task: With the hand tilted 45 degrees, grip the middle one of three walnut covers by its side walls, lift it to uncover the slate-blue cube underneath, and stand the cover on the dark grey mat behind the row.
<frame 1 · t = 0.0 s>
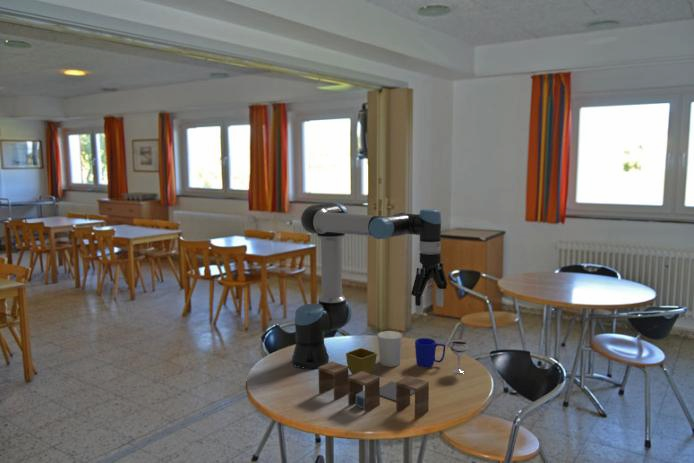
hand: (429, 309, 196), 28 cm above the table, tool pointing down, fingers open, 13 cm apart
cover left: (333, 393, 192), on the table
mug: (429, 366, 216), on the table
mat: (395, 392, 192), on the table
wineglass: (458, 371, 210), on the table
cover middle: (364, 405, 182), on the table
cube: (364, 405, 182), on the table
flower pot: (361, 375, 208), on the table
candle holder: (390, 363, 220), on the table
cover right: (412, 410, 178), on the table
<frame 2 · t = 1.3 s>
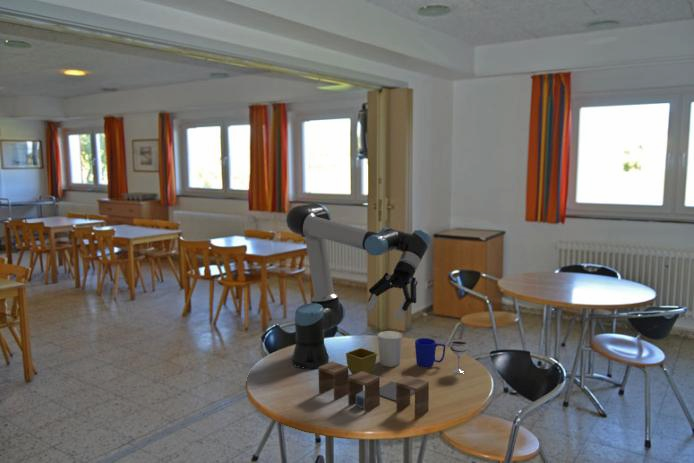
hand: (382, 314, 193), 28 cm above the table, tool tilted 45°, fingers open, 13 cm apart
nothing on the table moved.
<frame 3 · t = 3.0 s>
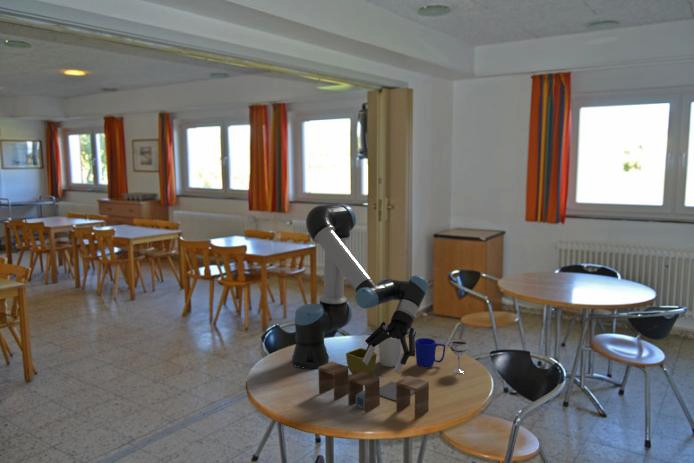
hand: (380, 367, 185), 11 cm above the table, tool tilted 45°, fingers open, 13 cm apart
nothing on the table moved.
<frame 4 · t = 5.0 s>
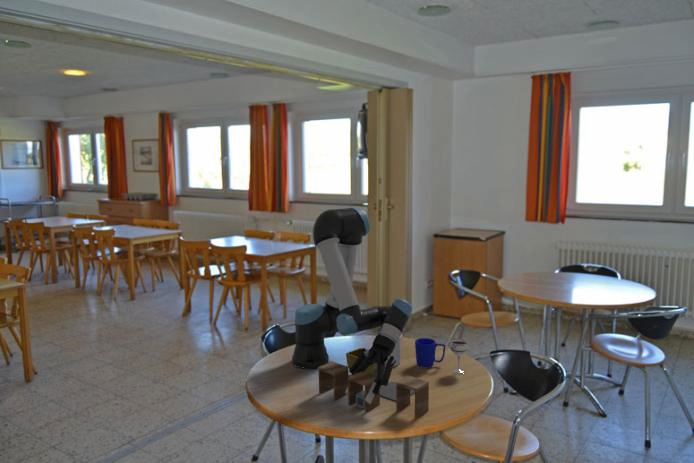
hand: (357, 398, 179), 4 cm above the table, tool tilted 45°, fingers closed on cover middle, 8 cm apart
cover middle: (364, 405, 182), on the table, touching gripper
everything else where it was.
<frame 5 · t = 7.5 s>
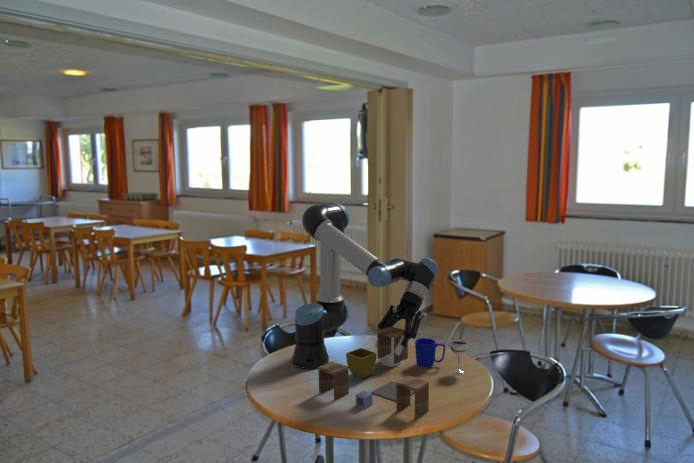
hand: (386, 350, 187), 17 cm above the table, tool tilted 45°, fingers closed on cover middle, 8 cm apart
cover middle: (392, 358, 190), point 13 cm above the table, touching gripper
everything else where it was.
when the fingers open (5 cm above the table, at t = 10.2 s): cover middle drops 1 cm, resting on mat.
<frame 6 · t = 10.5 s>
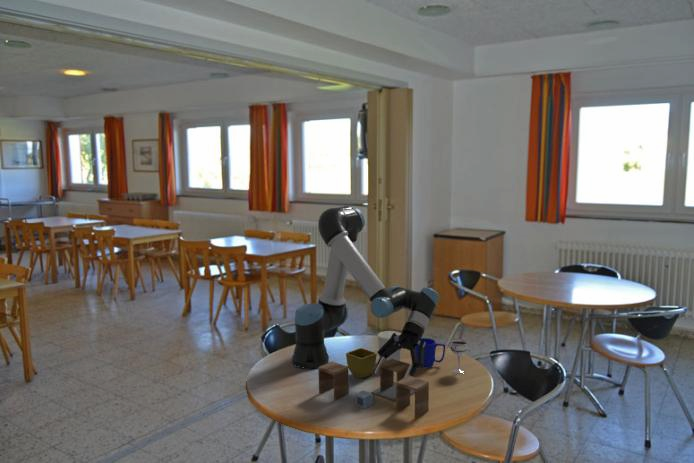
hand: (390, 378, 190), 6 cm above the table, tool tilted 45°, fingers open, 11 cm apart
cover middle: (395, 390, 192), resting on mat
everything else where it was.
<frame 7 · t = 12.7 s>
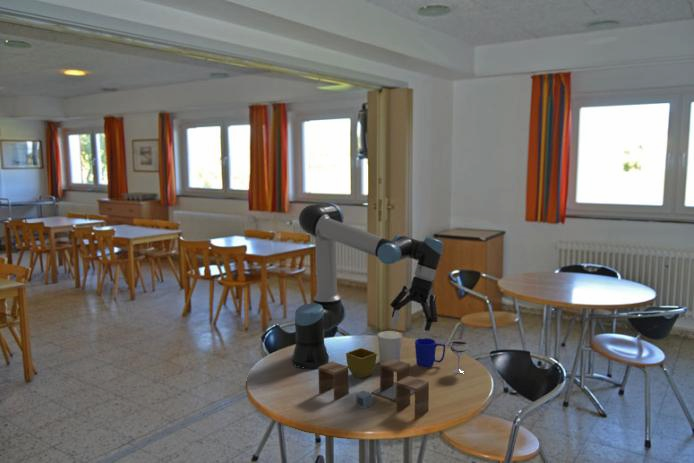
hand: (407, 332, 202), 18 cm above the table, tool tilted 20°, fingers open, 13 cm apart
nothing on the table moved.
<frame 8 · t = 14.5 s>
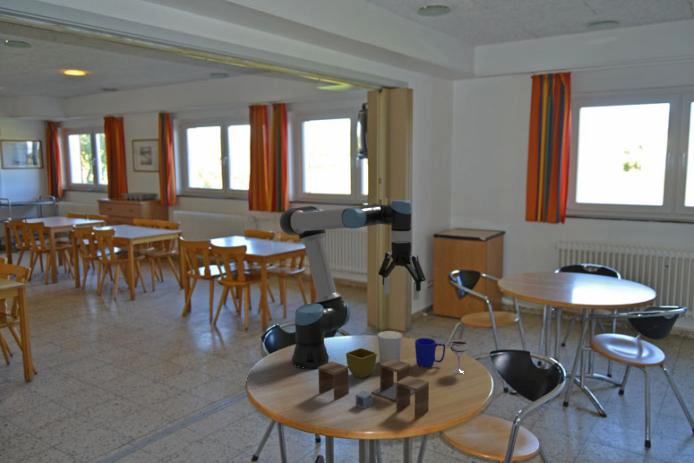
hand: (401, 296, 205), 31 cm above the table, tool pointing down, fingers open, 13 cm apart
nothing on the table moved.
at the end: cover middle inside the target area on the mat (0.0 cm from its centre), point 0.4 cm above the mat's base; cover middle tilted 0°; cube moved 0.1 cm from its start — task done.
